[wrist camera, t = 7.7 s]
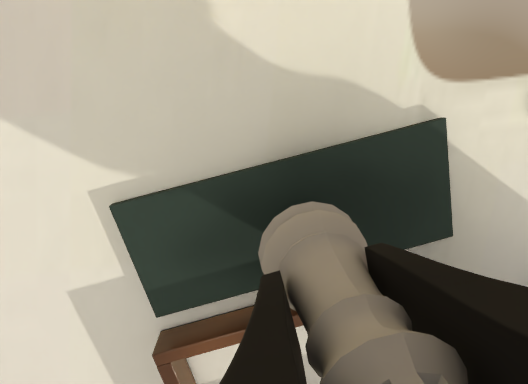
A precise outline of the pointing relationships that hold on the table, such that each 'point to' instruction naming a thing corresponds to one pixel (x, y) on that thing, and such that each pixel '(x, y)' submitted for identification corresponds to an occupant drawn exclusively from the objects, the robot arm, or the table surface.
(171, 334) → the desk tray
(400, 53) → the table surface
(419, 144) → the desk mat
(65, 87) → the table surface
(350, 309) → the rook chess piece
